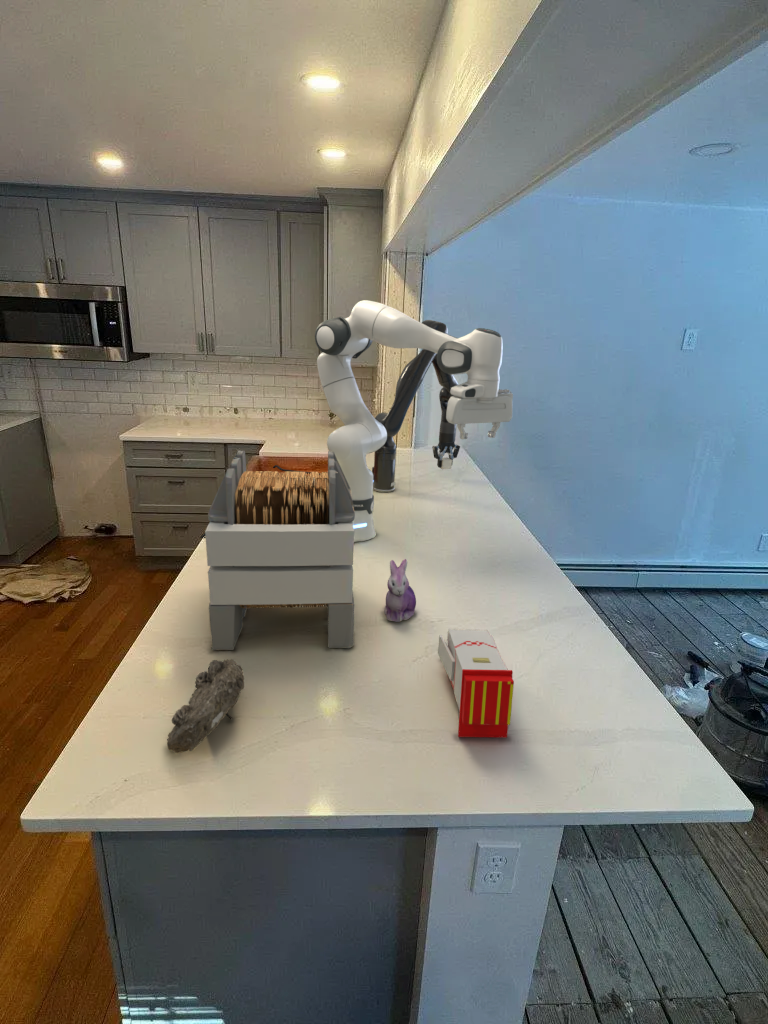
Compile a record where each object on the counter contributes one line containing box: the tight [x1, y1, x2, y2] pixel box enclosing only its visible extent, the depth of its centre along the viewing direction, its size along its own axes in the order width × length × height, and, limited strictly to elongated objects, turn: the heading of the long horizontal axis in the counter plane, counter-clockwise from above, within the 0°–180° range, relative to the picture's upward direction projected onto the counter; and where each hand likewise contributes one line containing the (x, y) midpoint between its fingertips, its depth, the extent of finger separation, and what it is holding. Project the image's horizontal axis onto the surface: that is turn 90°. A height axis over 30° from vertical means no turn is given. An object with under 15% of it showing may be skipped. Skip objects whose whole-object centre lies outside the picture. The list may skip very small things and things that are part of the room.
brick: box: [440, 456, 453, 470], centre depth 265 cm, size 5×5×4 cm
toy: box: [437, 628, 515, 738], centre depth 117 cm, size 12×13×30 cm
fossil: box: [166, 658, 245, 754], centre depth 106 cm, size 22×10×15 cm
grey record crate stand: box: [204, 449, 355, 652], centre depth 138 cm, size 34×33×41 cm
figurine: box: [384, 558, 417, 623], centre depth 145 cm, size 9×10×15 cm
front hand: (477, 438), depth 164 cm, fingers open, 8 cm apart
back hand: (444, 466), depth 266 cm, fingers closed on brick, 4 cm apart
